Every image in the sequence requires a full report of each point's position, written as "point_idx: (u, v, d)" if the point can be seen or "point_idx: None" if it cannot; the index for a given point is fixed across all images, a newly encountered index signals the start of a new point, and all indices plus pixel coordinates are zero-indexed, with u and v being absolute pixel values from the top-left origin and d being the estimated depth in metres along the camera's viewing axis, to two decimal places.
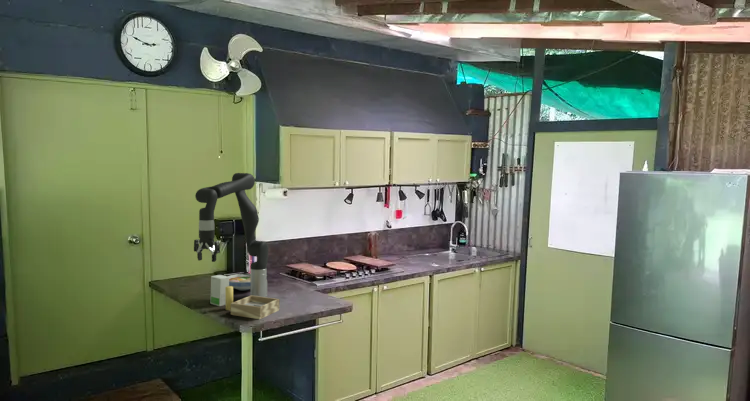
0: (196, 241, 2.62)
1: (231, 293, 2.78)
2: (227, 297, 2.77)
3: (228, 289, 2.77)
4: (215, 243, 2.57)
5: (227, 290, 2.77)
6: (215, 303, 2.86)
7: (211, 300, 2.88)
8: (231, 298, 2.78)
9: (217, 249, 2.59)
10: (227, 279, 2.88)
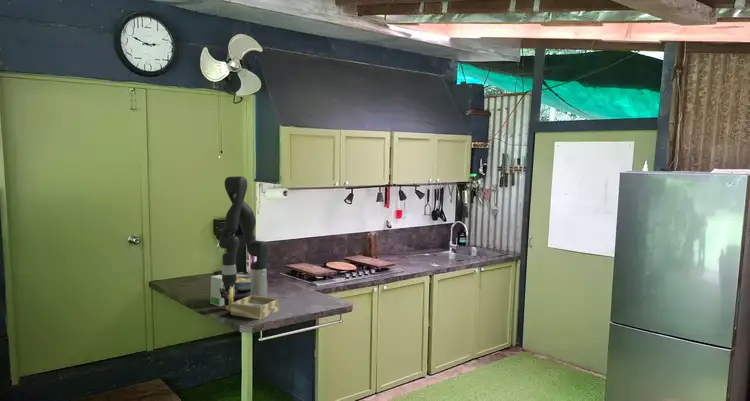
0: (224, 289, 2.74)
1: (231, 293, 2.78)
2: None
3: None
4: (238, 285, 2.84)
5: None
6: (215, 303, 2.86)
7: (211, 300, 2.88)
8: (231, 298, 2.78)
9: None
10: None
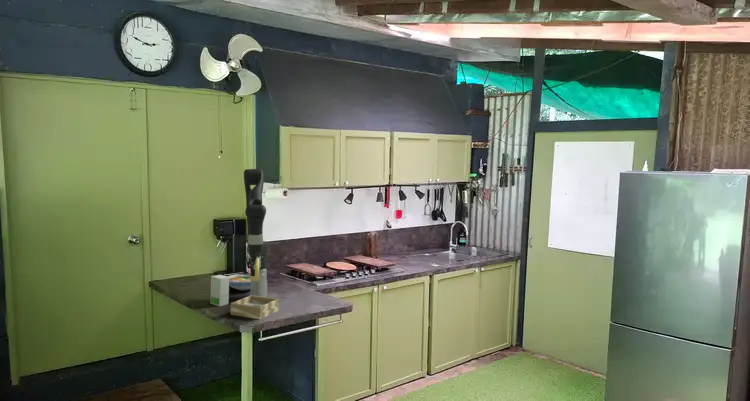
0: (250, 259, 2.67)
1: (257, 264, 2.72)
2: None
3: None
4: (263, 256, 2.78)
5: None
6: (215, 303, 2.86)
7: (211, 300, 2.88)
8: (257, 269, 2.72)
9: None
10: (227, 279, 2.88)
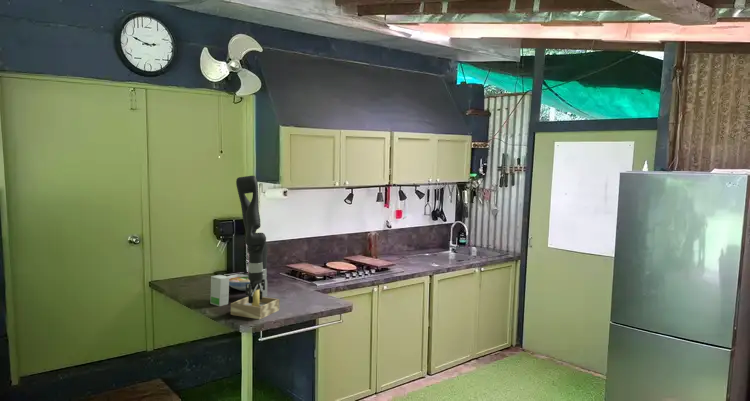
0: None
1: (257, 296, 2.73)
2: (253, 300, 2.73)
3: (254, 292, 2.72)
4: (264, 281, 2.79)
5: None
6: (215, 303, 2.86)
7: (211, 300, 2.88)
8: (257, 301, 2.73)
9: None
10: (227, 279, 2.88)
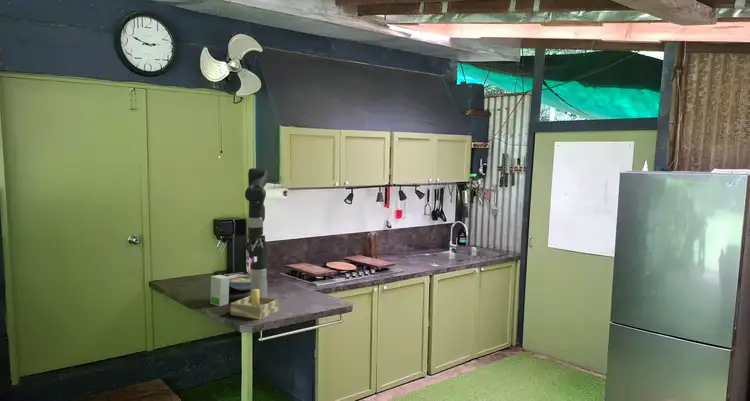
0: None
1: (257, 296, 2.73)
2: (253, 300, 2.73)
3: (254, 292, 2.72)
4: (264, 237, 2.78)
5: (253, 293, 2.72)
6: (215, 303, 2.86)
7: (211, 300, 2.88)
8: (257, 301, 2.73)
9: None
10: (227, 279, 2.88)
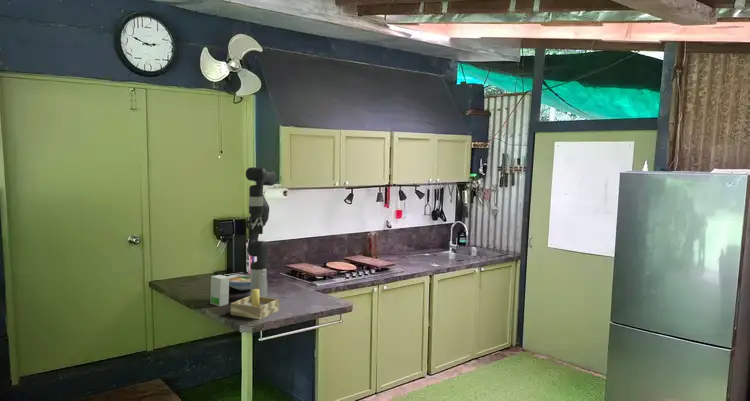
0: None
1: (257, 296, 2.73)
2: (253, 300, 2.73)
3: (254, 292, 2.72)
4: (264, 216, 2.84)
5: (253, 293, 2.72)
6: (215, 303, 2.86)
7: (211, 300, 2.88)
8: (257, 301, 2.73)
9: None
10: (227, 279, 2.88)
